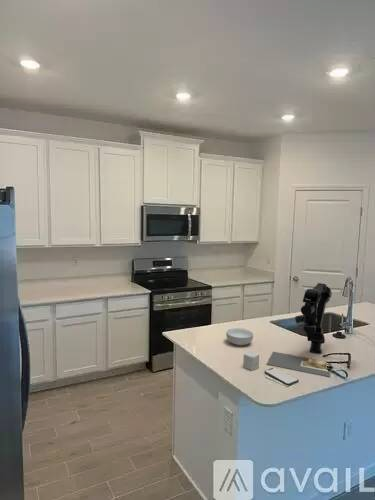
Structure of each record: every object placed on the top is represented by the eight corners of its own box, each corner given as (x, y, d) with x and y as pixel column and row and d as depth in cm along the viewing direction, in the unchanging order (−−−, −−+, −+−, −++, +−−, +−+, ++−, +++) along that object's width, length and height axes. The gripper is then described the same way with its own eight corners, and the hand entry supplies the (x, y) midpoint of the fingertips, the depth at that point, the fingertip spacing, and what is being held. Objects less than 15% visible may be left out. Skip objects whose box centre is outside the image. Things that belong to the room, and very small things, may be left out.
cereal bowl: (224, 346, 211) (224, 335, 210) (227, 337, 227) (227, 327, 226) (252, 349, 207) (252, 338, 206) (253, 340, 223) (253, 329, 222)
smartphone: (299, 382, 168) (275, 369, 181) (300, 379, 168) (275, 366, 181) (287, 387, 163) (263, 373, 176) (287, 384, 163) (263, 370, 176)
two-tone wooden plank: (326, 366, 185) (327, 361, 185) (326, 369, 180) (326, 364, 180) (303, 361, 190) (303, 357, 190) (302, 365, 185) (302, 360, 185)
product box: (259, 367, 182) (259, 354, 182) (252, 371, 178) (253, 357, 178) (249, 363, 187) (250, 351, 186) (242, 367, 183) (243, 353, 182)
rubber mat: (272, 352, 203) (272, 351, 203) (331, 362, 190) (331, 361, 190) (266, 364, 186) (266, 363, 186) (330, 377, 173) (330, 376, 173)
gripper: (298, 306, 204) (296, 331, 206) (294, 314, 187) (292, 341, 189) (318, 308, 200) (316, 334, 201) (316, 316, 183) (314, 345, 184)
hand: (309, 338), depth 194 cm, fingers open, 9 cm apart
